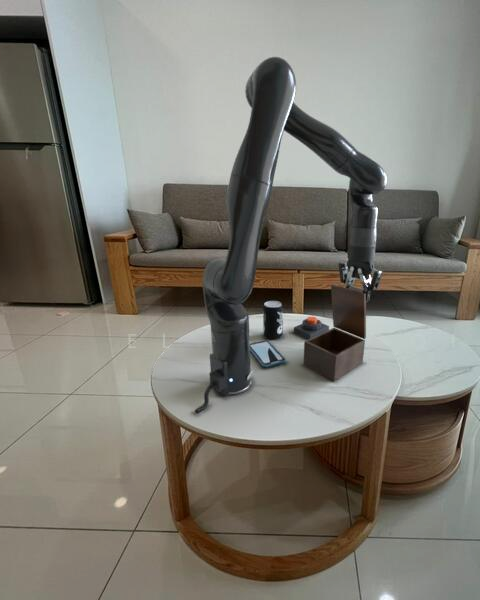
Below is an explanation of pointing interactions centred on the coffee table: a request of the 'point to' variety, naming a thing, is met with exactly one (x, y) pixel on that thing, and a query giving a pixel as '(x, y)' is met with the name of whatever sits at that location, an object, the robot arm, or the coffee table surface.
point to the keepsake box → (333, 353)
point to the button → (311, 320)
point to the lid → (349, 309)
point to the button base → (310, 329)
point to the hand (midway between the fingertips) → (356, 299)
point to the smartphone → (266, 353)
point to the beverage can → (273, 320)
